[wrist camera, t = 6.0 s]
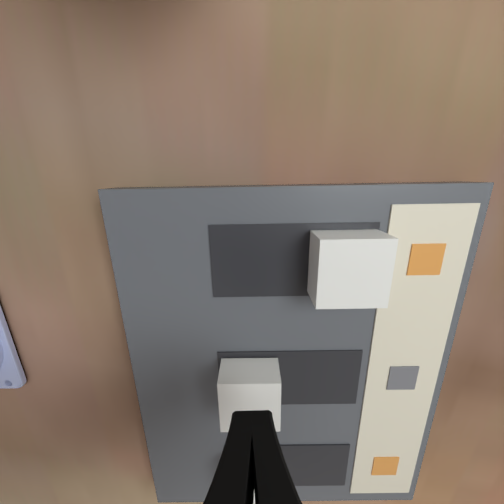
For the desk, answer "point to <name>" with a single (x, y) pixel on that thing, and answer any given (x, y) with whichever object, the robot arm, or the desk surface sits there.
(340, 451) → the switch board
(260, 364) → the switch tab
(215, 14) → the desk surface
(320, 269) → the switch tab
